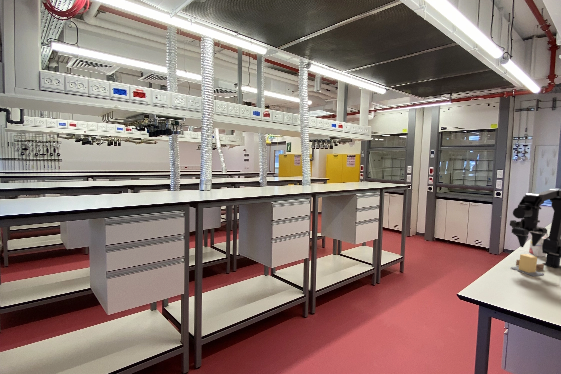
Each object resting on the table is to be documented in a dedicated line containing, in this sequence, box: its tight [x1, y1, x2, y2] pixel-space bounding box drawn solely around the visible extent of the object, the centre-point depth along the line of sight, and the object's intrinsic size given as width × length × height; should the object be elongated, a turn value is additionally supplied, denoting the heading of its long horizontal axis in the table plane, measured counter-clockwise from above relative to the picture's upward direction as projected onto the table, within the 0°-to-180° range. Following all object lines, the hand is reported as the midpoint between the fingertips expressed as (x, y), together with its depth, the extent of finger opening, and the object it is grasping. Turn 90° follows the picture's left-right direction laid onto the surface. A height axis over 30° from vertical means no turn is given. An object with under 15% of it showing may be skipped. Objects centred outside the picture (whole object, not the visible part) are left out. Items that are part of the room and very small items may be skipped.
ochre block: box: [518, 253, 538, 273], centre depth 155 cm, size 5×5×8 cm
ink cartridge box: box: [528, 233, 549, 258], centre depth 187 cm, size 9×5×15 cm, turn 168°
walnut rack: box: [515, 259, 545, 271], centre depth 163 cm, size 8×9×3 cm
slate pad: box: [510, 266, 545, 277], centre depth 156 cm, size 8×11×1 cm
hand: (527, 246), depth 158 cm, fingers open, 9 cm apart
